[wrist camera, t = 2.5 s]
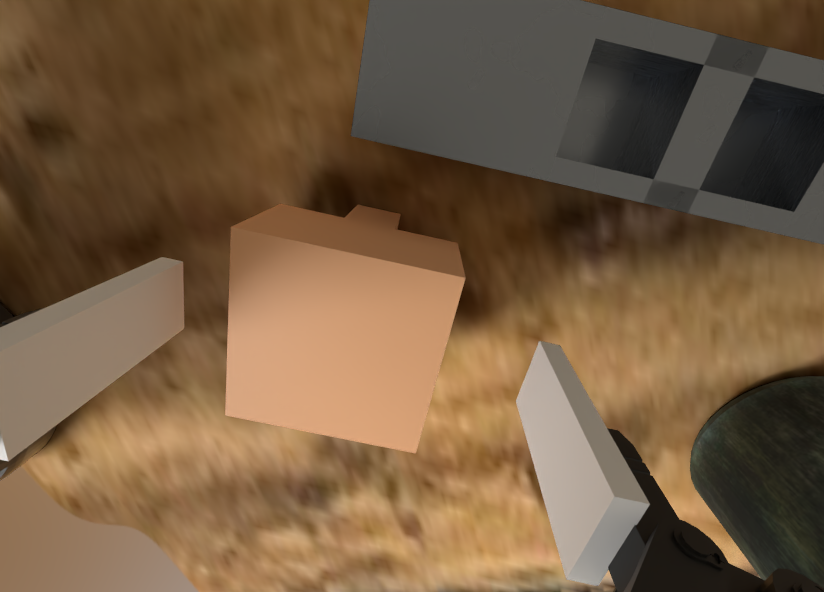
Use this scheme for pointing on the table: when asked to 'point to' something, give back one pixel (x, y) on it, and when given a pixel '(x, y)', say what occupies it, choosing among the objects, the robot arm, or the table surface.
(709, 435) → the mug
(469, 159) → the rail
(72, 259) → the table surface
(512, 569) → the table surface
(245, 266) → the tan block with tab
